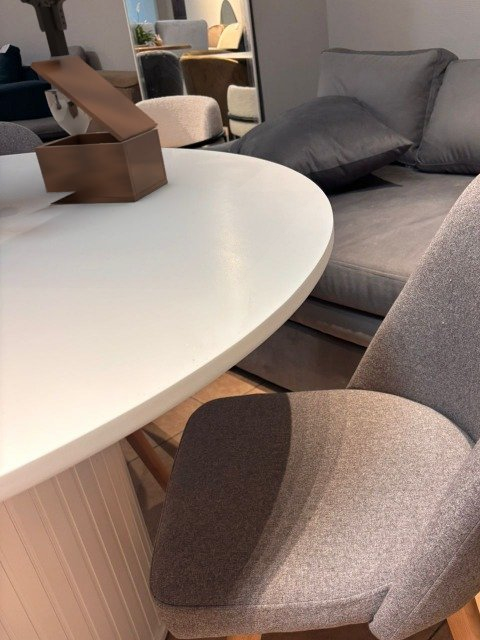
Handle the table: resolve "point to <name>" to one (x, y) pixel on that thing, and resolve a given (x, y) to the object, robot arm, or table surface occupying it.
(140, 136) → the chest
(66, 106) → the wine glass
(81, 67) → the lid
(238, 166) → the table surface
